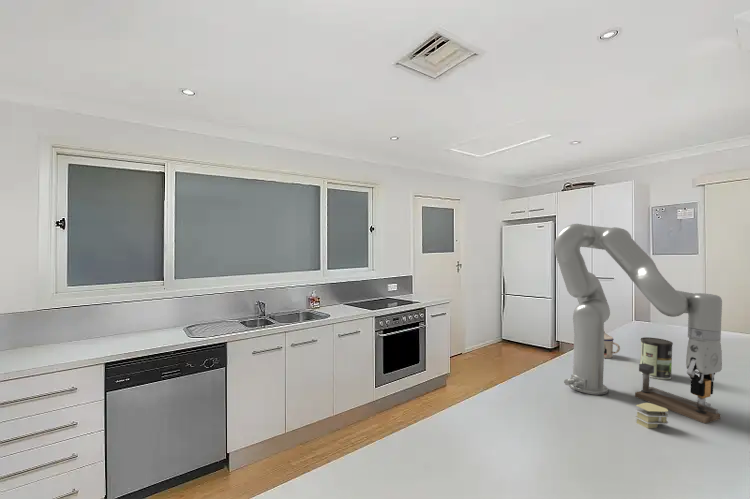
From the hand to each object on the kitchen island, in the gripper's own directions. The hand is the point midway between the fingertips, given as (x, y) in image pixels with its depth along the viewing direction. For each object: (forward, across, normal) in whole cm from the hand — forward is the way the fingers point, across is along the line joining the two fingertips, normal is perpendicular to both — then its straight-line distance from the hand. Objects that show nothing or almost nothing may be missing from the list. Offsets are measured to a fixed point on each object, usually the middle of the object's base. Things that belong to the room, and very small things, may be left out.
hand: (701, 393), depth 113 cm
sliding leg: (+5, +1, 0) cm, 5 cm away
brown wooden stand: (+7, 0, +7) cm, 10 cm away
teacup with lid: (+7, +30, +52) cm, 60 cm away
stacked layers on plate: (+8, -20, +2) cm, 22 cm away
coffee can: (+7, +26, +28) cm, 39 cm away
